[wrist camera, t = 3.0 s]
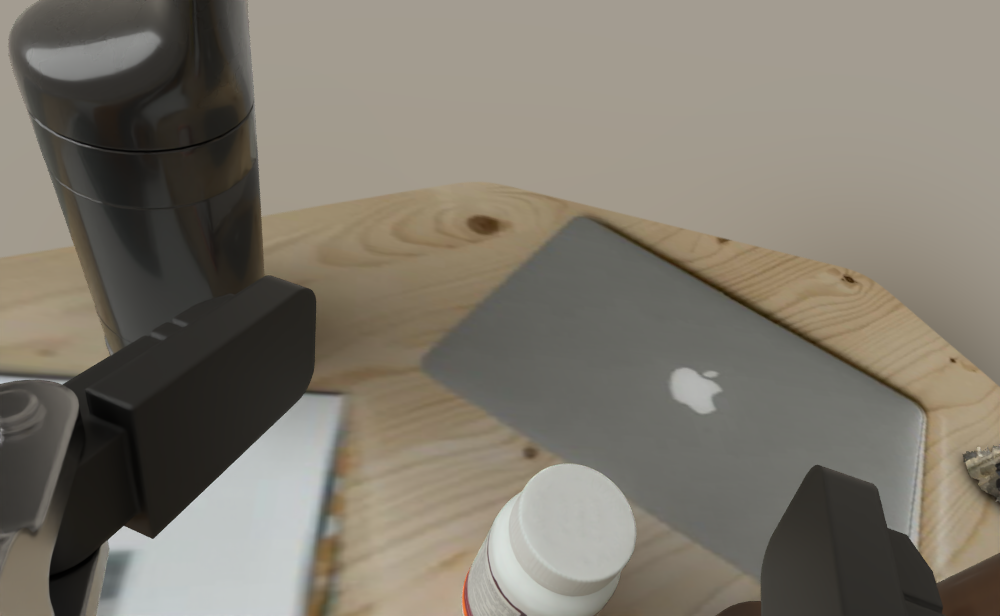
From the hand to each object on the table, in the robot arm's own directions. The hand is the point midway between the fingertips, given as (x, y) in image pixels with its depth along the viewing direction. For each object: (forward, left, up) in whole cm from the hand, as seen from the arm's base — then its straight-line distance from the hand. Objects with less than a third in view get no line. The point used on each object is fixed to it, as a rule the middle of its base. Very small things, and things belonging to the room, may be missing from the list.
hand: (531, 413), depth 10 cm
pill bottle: (+2, +9, -28) cm, 29 cm away
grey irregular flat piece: (+26, +41, -28) cm, 56 cm away
